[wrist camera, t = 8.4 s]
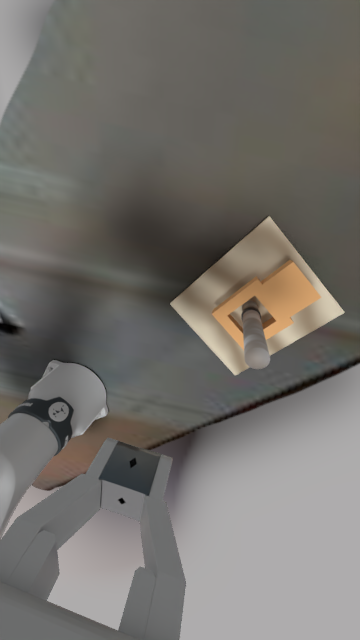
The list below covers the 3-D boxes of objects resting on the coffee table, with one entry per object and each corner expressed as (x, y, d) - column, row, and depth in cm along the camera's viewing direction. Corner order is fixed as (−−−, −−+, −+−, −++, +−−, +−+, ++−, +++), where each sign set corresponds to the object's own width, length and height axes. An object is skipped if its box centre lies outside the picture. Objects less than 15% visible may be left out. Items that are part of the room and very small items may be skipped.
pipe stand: (235, 370, 42) (233, 450, 27) (172, 301, 40) (131, 346, 25) (340, 309, 34) (424, 375, 19) (268, 216, 32) (295, 205, 16)
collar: (245, 346, 36) (245, 352, 34) (212, 309, 34) (211, 314, 33) (320, 298, 30) (326, 303, 28) (285, 253, 29) (288, 255, 27)
